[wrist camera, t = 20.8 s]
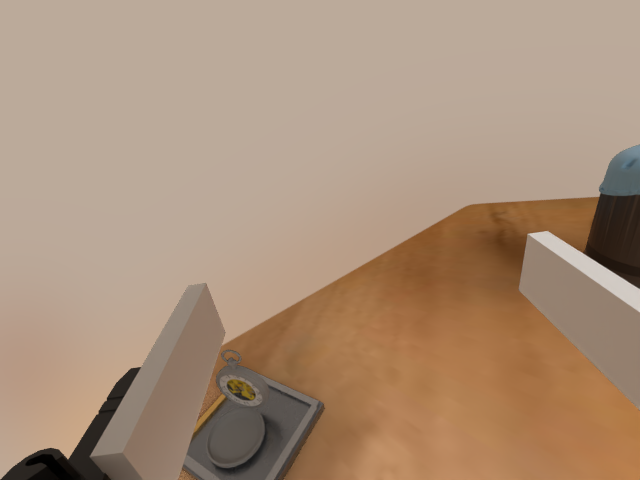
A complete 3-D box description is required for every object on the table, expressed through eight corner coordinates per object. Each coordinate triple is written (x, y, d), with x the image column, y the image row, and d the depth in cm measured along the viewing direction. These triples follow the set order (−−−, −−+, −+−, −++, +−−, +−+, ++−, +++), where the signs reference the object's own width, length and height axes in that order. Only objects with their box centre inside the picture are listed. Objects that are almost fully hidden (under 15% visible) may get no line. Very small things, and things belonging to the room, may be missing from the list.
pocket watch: (207, 481, 33) (172, 421, 28) (209, 410, 40) (181, 354, 35) (284, 450, 34) (262, 388, 30) (271, 387, 42) (252, 330, 37)
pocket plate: (247, 372, 46) (245, 366, 45) (324, 408, 39) (322, 400, 38) (171, 460, 36) (166, 453, 35) (255, 527, 29) (251, 519, 29)
